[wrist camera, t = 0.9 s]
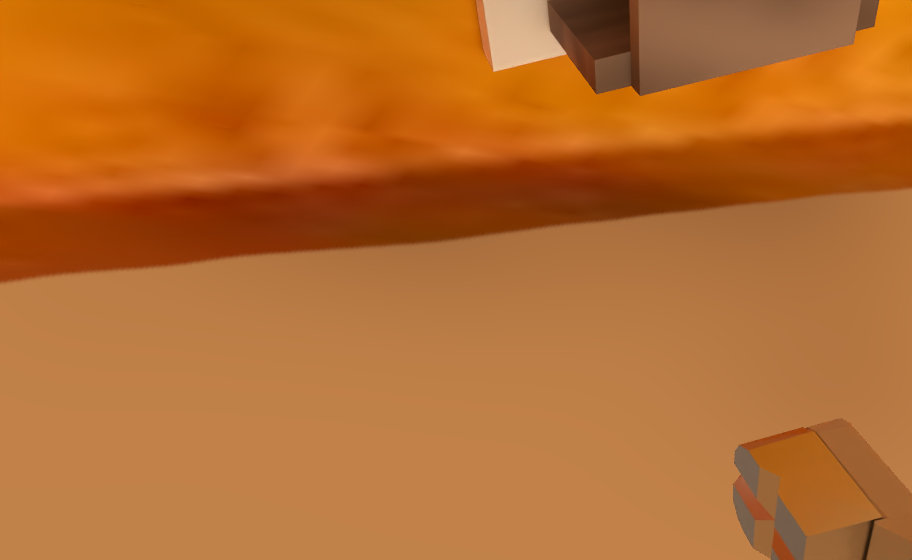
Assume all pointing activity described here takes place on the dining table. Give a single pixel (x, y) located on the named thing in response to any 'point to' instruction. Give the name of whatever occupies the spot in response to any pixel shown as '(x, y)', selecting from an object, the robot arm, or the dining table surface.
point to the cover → (696, 37)
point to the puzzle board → (516, 32)
